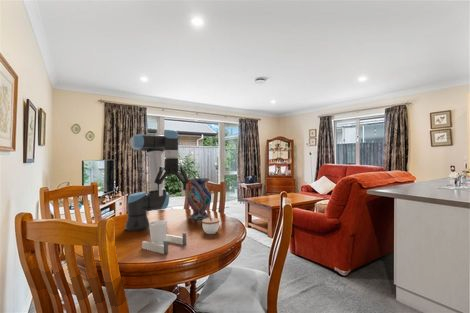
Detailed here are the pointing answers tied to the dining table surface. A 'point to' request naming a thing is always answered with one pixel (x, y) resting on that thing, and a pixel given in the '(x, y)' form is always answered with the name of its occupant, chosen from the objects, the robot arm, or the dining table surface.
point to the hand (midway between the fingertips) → (172, 196)
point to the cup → (158, 232)
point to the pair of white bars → (164, 248)
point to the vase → (199, 198)
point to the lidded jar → (210, 225)
